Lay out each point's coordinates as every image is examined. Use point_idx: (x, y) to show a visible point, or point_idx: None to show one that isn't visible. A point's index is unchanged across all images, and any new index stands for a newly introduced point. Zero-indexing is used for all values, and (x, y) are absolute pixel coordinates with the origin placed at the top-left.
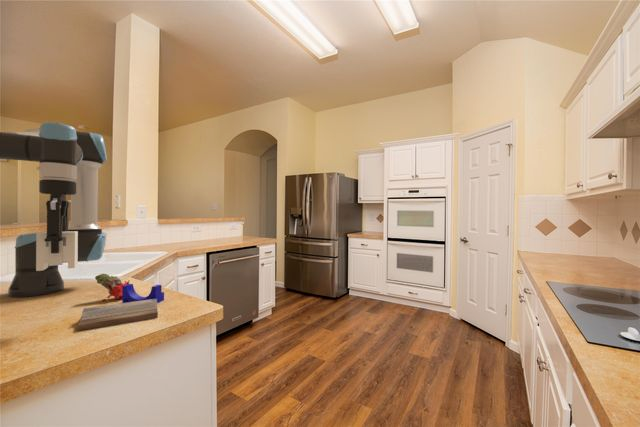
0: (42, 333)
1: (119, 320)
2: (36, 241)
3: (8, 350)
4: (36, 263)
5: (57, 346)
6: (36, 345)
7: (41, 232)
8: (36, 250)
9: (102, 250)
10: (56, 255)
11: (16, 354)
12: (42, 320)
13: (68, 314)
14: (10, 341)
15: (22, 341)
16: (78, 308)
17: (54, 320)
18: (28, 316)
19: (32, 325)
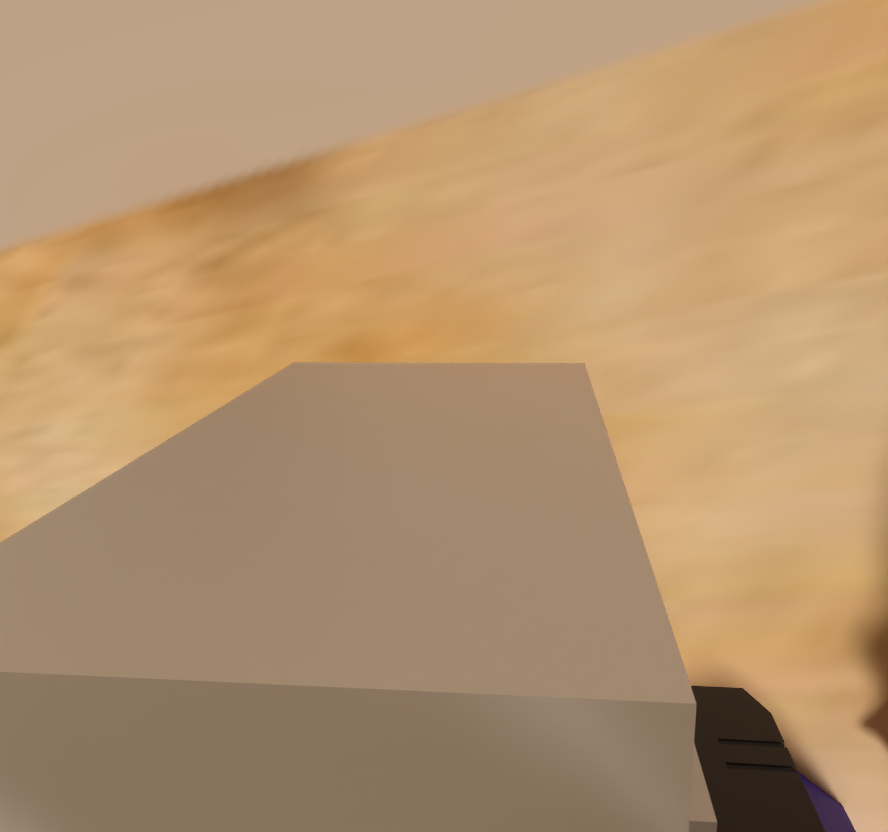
0: (309, 344)
1: None
2: (37, 526)
3: (92, 235)
4: (260, 388)
5: (35, 461)
6: (102, 357)
7: (256, 757)
8: (161, 449)
9: None
10: None
11: (11, 293)
12: (638, 280)
13: (695, 429)
14: (248, 199)
15: (212, 267)
16: (844, 477)
17: (582, 361)
18: (845, 147)
19: (540, 241)
